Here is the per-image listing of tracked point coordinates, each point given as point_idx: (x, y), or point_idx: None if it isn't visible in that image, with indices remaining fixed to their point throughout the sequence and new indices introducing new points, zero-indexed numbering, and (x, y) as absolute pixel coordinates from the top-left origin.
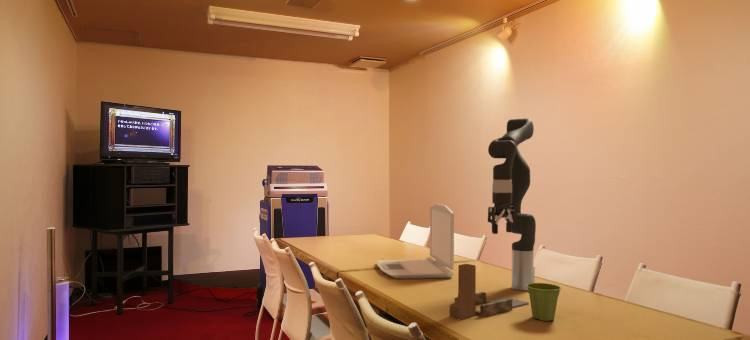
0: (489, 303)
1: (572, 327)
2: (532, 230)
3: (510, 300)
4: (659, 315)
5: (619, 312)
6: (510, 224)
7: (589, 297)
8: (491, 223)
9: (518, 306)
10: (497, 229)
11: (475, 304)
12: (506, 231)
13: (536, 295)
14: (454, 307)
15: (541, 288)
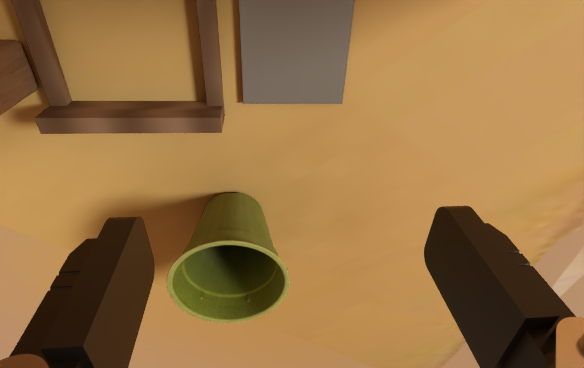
0: (87, 124)
1: None
2: None
3: (210, 131)
4: None
5: None
6: (476, 353)
7: (566, 164)
8: (8, 359)
9: (279, 102)
10: (132, 322)
11: (15, 104)
12: (442, 208)
13: (181, 274)
14: None
15: (266, 245)
